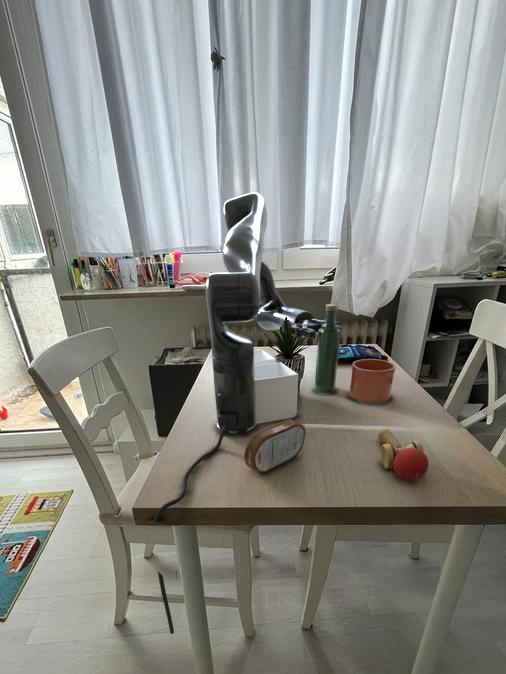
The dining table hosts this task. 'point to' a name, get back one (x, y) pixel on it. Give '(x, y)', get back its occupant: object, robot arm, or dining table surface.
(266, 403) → the storage container
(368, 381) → the plant pot
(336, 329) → the bottle
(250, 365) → the robot arm
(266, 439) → the tin
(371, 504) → the dining table surface
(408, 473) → the kendama
